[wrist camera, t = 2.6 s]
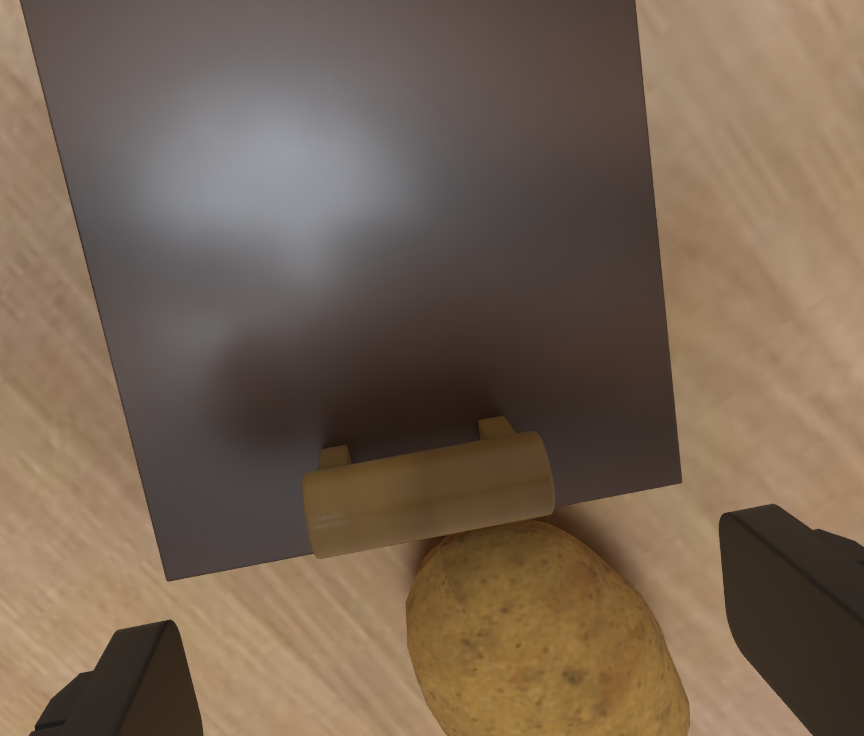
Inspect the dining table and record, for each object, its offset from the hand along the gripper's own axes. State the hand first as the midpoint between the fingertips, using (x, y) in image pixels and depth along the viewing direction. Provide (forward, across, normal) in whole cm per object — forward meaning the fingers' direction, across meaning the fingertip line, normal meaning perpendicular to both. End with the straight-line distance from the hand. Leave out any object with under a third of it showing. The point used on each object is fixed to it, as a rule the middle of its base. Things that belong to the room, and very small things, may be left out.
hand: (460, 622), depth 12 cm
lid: (+10, 0, -6) cm, 11 cm away
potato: (+23, -4, +13) cm, 26 cm away
